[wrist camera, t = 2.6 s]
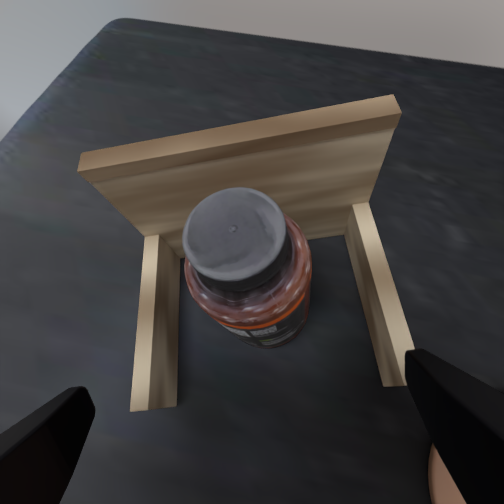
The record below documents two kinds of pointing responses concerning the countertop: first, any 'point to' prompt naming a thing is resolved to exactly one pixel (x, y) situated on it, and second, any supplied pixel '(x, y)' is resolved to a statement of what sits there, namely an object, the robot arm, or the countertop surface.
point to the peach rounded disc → (441, 482)
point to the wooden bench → (275, 186)
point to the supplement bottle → (248, 266)
